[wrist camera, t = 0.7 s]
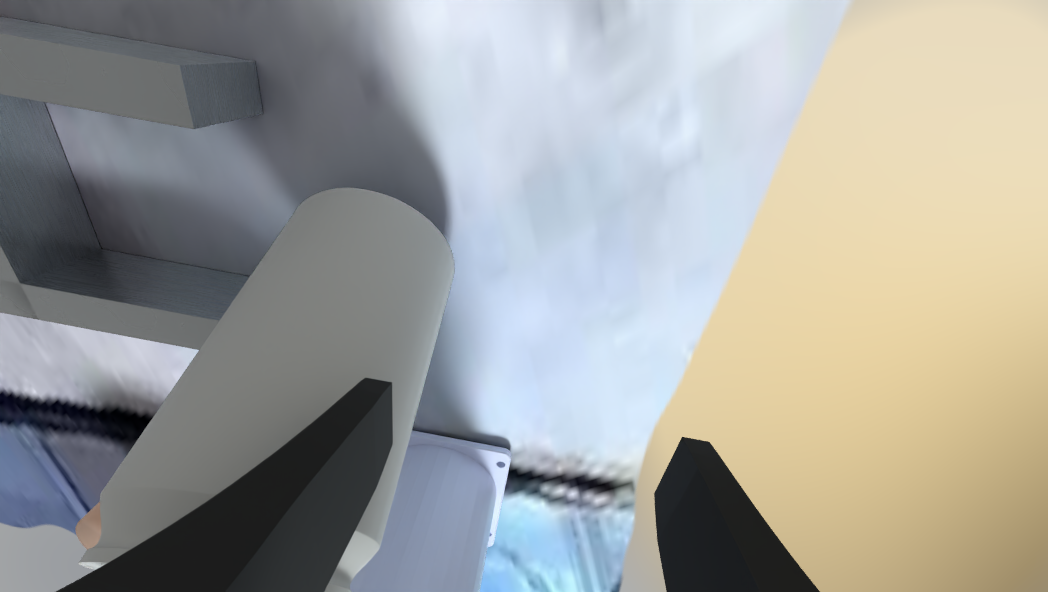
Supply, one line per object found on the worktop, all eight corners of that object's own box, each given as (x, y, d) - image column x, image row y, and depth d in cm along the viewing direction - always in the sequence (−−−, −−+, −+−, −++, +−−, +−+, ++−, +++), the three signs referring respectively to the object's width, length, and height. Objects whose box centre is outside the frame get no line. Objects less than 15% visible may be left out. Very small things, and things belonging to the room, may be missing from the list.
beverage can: (272, 170, 15) (-44, 551, 8) (447, 179, 15) (299, 593, 7) (333, 287, 20) (176, 594, 13) (467, 297, 20) (390, 620, 12)
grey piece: (293, 314, 21) (247, 358, 18) (78, 274, 22) (-2, 312, 19) (255, 61, 16) (179, 65, 13) (-36, 9, 16) (-180, 1, 13)
